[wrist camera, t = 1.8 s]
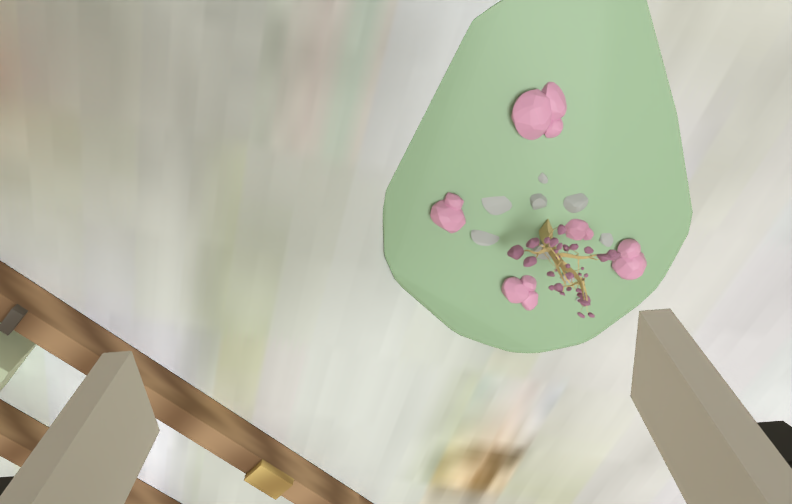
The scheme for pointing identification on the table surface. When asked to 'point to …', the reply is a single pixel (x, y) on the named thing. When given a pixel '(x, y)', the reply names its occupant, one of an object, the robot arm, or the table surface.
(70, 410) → the robot arm
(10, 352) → the block
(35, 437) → the slotted beam
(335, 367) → the table surface
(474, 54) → the miniature tree diorama
